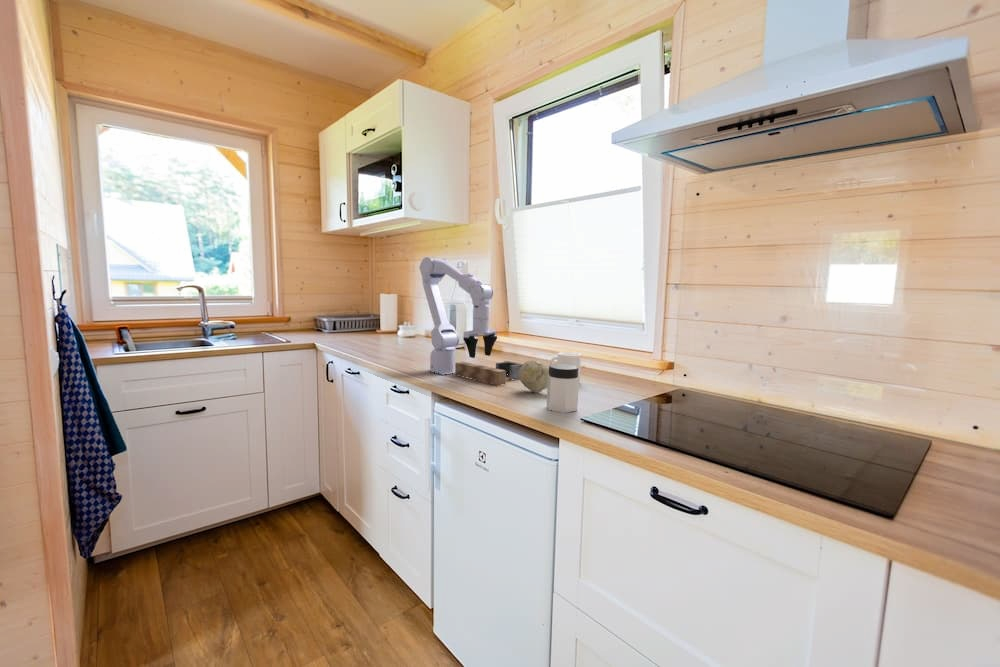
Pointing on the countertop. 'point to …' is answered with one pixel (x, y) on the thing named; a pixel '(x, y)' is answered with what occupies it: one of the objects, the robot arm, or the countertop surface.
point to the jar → (562, 388)
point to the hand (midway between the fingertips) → (480, 356)
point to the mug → (568, 359)
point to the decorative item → (534, 375)
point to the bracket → (510, 368)
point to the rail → (481, 373)
